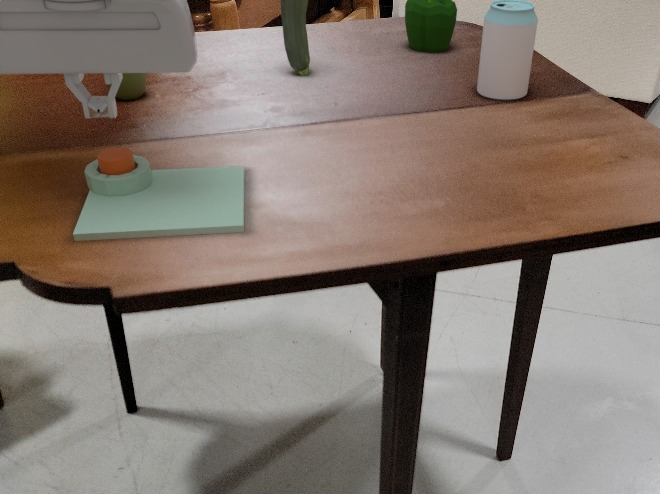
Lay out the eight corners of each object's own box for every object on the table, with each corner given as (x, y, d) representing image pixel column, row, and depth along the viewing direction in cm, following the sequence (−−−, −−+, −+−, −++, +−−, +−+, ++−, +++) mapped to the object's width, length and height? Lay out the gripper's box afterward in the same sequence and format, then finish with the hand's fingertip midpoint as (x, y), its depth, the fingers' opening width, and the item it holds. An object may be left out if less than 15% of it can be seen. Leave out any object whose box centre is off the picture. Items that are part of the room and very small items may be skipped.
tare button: (97, 178, 75) (94, 162, 74) (103, 163, 78) (99, 148, 77) (133, 176, 76) (130, 160, 75) (137, 162, 78) (134, 146, 77)
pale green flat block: (72, 245, 70) (65, 216, 68) (96, 181, 81) (90, 155, 79) (244, 236, 71) (241, 208, 69) (244, 174, 82) (242, 149, 80)
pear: (154, 102, 101) (141, 24, 95) (115, 108, 99) (99, 29, 92) (142, 90, 105) (129, 15, 98) (105, 96, 102) (89, 20, 96)
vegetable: (281, 79, 109) (272, -76, 96) (287, 70, 112) (279, -81, 100) (310, 80, 108) (305, -75, 96) (316, 72, 112) (311, -80, 99)
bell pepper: (398, 44, 124) (400, -21, 117) (445, 42, 125) (450, -23, 119) (410, 59, 117) (413, -10, 111) (459, 56, 118) (465, -12, 112)
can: (480, 104, 101) (490, 10, 93) (472, 87, 106) (481, -3, 99) (531, 104, 101) (545, 10, 93) (520, 87, 106) (533, -3, 99)
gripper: (-65, -31, 61) (-16, 130, 70) (184, -31, 63) (201, 126, 72) (-41, -46, 66) (1, 107, 75) (189, -44, 68) (205, 104, 77)
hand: (101, 116), depth 73 cm, fingers closed
